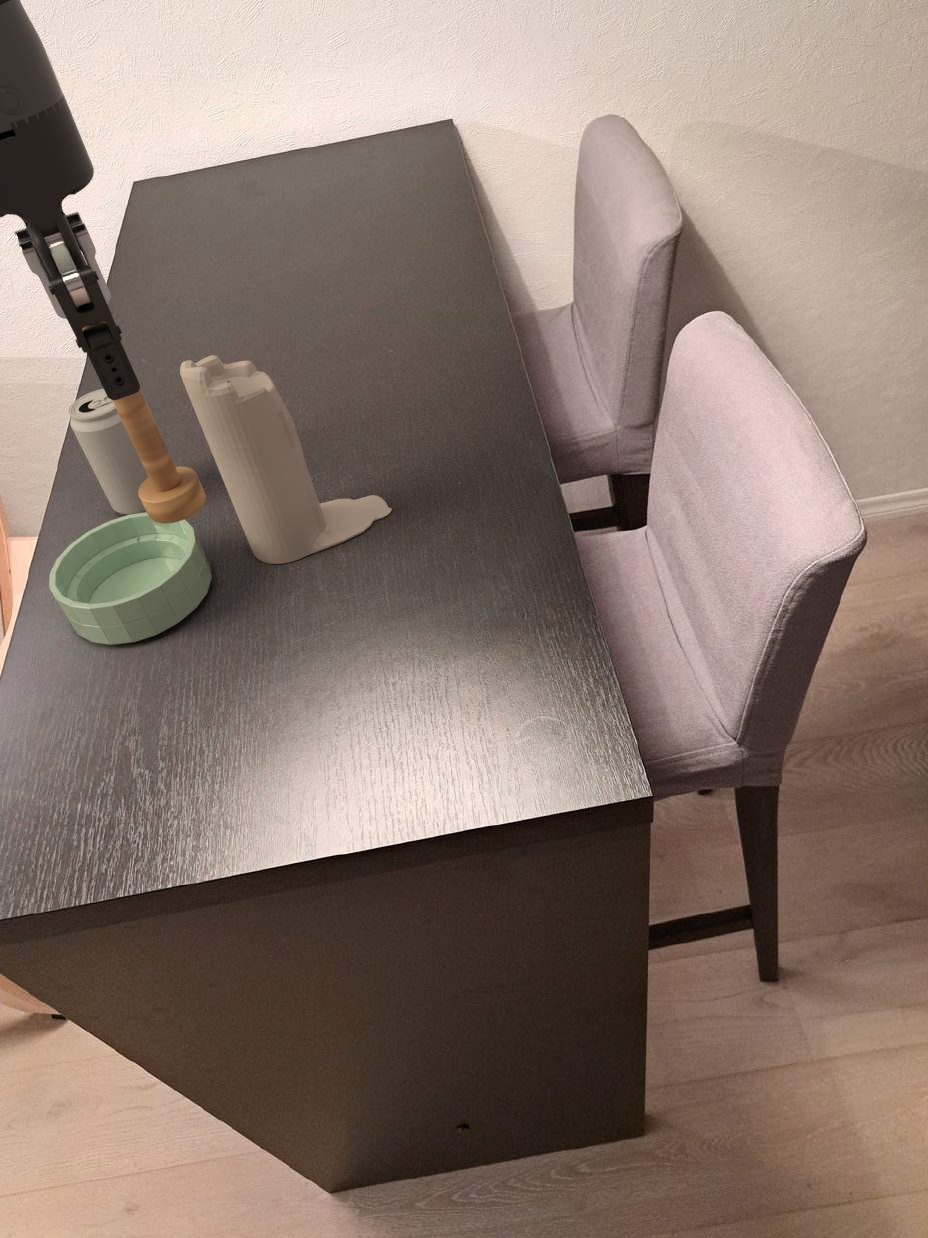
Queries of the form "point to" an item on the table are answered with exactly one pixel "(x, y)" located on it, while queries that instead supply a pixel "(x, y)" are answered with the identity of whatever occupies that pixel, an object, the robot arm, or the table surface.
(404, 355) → the table surface
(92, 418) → the beverage can
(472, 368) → the table surface
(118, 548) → the bowl
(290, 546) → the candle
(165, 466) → the pestle
